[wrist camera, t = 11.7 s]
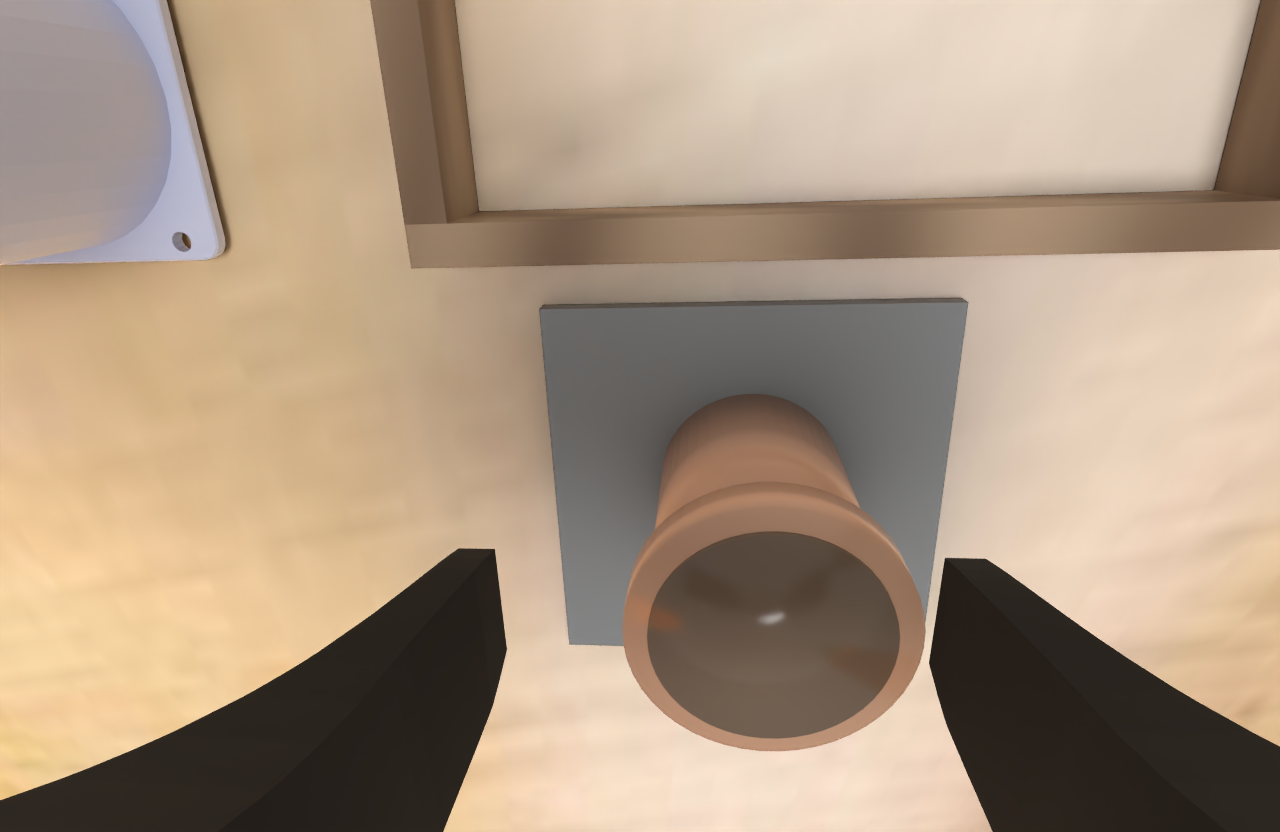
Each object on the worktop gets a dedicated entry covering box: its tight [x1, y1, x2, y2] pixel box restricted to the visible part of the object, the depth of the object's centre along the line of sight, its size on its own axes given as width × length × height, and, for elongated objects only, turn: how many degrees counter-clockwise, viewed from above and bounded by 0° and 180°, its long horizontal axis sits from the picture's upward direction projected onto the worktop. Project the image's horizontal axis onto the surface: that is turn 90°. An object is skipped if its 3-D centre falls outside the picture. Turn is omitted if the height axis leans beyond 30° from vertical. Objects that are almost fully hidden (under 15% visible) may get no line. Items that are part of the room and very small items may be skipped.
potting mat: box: [539, 298, 968, 646], centre depth 21 cm, size 11×11×1 cm
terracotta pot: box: [622, 394, 925, 751], centre depth 17 cm, size 6×6×7 cm
